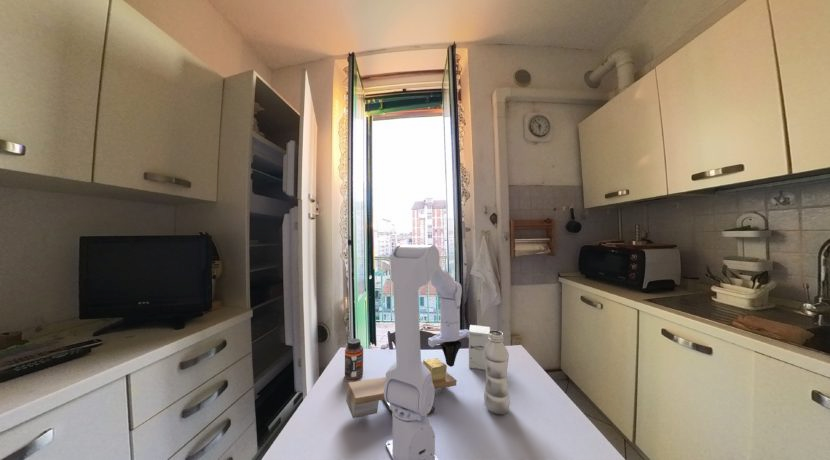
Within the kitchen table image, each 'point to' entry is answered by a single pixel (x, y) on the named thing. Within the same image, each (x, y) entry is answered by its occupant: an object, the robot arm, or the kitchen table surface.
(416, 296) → the robot arm
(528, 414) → the kitchen table surface
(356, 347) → the supplement bottle
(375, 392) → the balance beam
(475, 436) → the kitchen table surface
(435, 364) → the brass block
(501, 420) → the kitchen table surface
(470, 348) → the supplement box
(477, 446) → the kitchen table surface
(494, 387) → the plastic bottle
